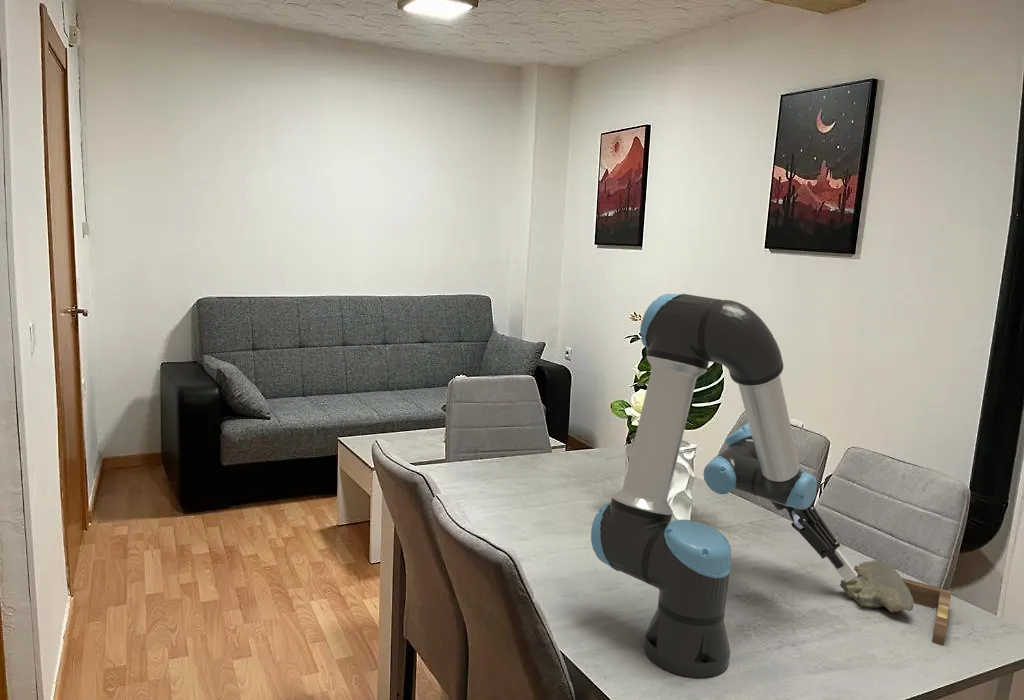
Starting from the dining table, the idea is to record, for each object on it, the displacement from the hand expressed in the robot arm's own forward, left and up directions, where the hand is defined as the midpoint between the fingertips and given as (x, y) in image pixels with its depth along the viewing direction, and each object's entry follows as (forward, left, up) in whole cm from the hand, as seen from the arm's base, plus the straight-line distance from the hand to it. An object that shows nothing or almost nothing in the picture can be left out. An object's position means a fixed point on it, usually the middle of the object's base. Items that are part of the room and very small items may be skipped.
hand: (852, 578), depth 165 cm
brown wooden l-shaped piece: (0, -9, -5) cm, 10 cm away
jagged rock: (0, -5, -5) cm, 7 cm away
